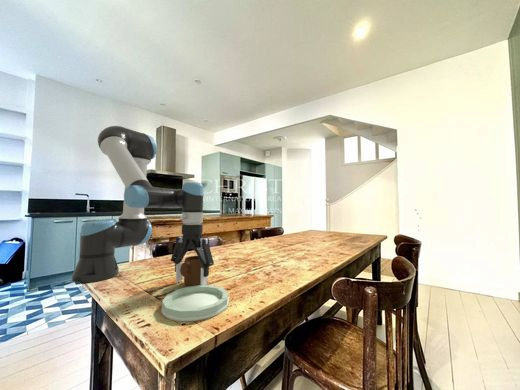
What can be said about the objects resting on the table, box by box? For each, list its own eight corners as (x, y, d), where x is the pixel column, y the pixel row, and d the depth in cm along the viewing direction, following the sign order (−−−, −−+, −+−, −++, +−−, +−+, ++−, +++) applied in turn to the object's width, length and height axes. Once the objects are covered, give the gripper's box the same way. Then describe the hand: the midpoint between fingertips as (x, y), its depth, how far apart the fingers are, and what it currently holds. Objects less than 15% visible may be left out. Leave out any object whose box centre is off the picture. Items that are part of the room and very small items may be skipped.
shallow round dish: (145, 312, 58) (146, 303, 58) (193, 288, 75) (193, 281, 75) (201, 328, 50) (201, 317, 50) (240, 298, 67) (240, 290, 67)
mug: (190, 292, 72) (190, 263, 72) (171, 289, 74) (172, 262, 75) (208, 280, 83) (208, 256, 84) (191, 278, 85) (192, 255, 86)
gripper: (161, 223, 82) (159, 281, 80) (211, 225, 72) (210, 291, 70) (176, 222, 88) (175, 276, 87) (224, 224, 79) (223, 284, 77)
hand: (191, 283), depth 79 cm, fingers open, 11 cm apart
